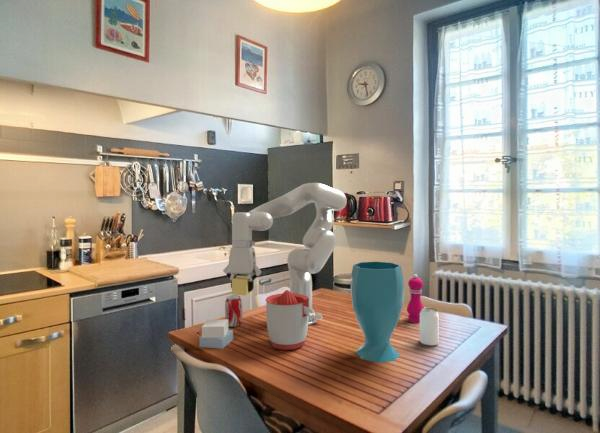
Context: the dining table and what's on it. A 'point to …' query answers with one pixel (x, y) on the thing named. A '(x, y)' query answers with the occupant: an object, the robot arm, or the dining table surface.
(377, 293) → the vase
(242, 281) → the stack cube
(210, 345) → the base block
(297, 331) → the citrus juicer
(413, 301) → the pepper mill
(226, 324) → the top block
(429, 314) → the can
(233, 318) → the soda can
